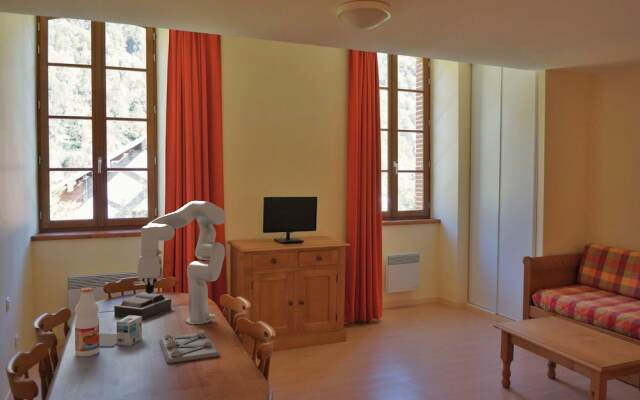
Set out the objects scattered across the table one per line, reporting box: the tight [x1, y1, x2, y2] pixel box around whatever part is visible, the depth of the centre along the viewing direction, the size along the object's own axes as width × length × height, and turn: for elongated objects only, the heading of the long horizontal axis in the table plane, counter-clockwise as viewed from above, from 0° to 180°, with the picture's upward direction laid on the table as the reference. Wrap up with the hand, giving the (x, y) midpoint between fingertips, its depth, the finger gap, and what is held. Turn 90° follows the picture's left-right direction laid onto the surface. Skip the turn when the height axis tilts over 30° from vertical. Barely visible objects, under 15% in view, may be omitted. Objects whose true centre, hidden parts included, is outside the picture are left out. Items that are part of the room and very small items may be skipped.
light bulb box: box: [116, 315, 143, 347], centre depth 222 cm, size 11×7×11 cm, turn 169°
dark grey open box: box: [113, 291, 172, 322], centre depth 268 cm, size 23×27×10 cm
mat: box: [99, 333, 118, 348], centre depth 223 cm, size 14×16×1 cm
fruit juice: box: [74, 286, 100, 358], centre depth 207 cm, size 9×9×28 cm
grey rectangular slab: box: [159, 329, 221, 365], centre depth 213 cm, size 30×22×7 cm
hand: (150, 293), depth 220 cm, fingers closed
